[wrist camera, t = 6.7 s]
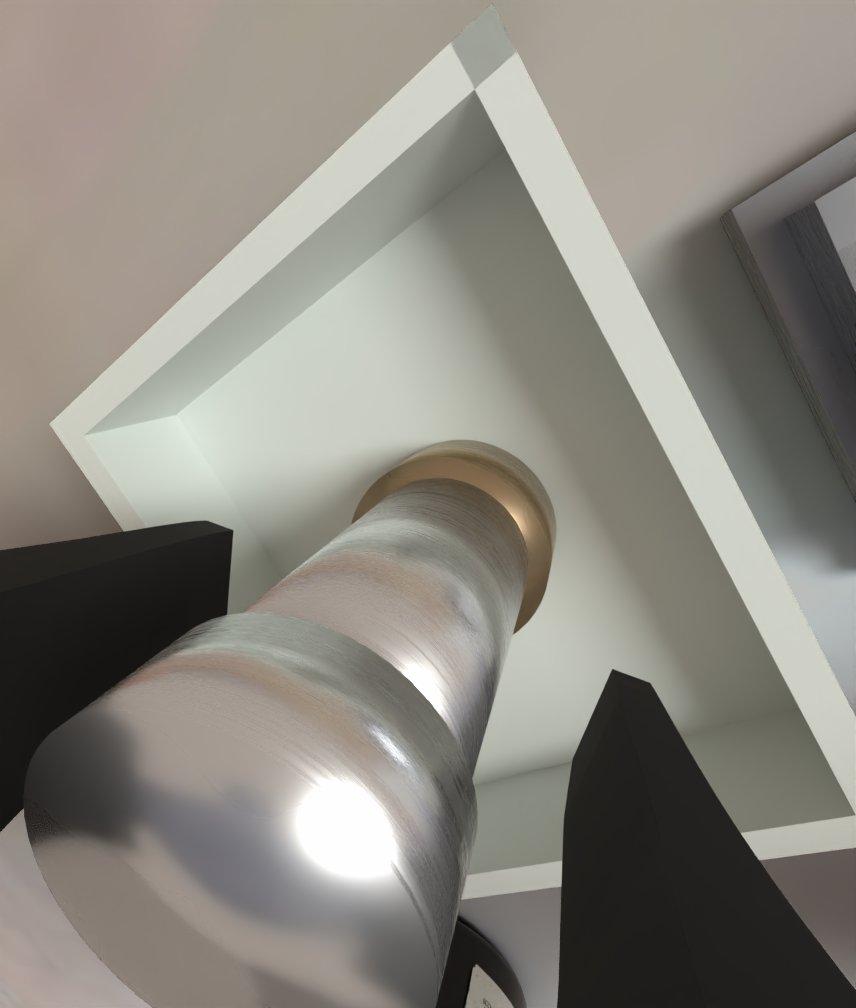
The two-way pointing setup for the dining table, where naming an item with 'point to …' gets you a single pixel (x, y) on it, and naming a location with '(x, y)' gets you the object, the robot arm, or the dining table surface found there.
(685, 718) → the tray
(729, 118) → the dining table surface
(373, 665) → the silver rounded piece
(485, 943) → the ink bottle
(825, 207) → the socket base
